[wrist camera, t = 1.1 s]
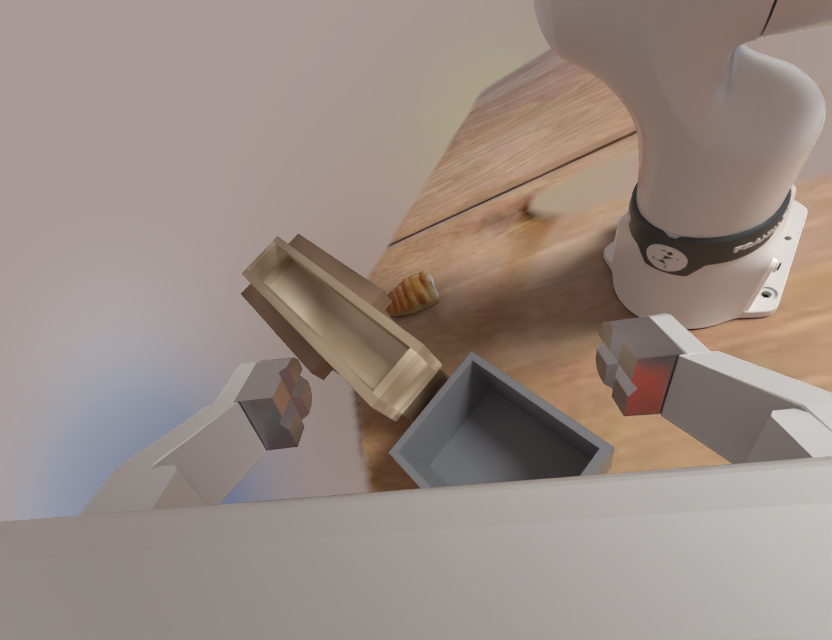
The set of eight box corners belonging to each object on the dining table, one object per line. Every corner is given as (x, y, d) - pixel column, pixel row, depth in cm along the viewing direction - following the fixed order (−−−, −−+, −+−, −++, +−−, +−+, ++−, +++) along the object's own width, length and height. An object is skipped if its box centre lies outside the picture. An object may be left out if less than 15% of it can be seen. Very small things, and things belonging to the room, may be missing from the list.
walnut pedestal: (407, 345, 56) (298, 233, 36) (475, 397, 48) (383, 291, 28) (372, 385, 55) (240, 293, 35) (436, 446, 47) (311, 372, 26)
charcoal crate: (492, 382, 48) (471, 351, 40) (611, 466, 38) (614, 447, 31) (424, 467, 46) (388, 452, 38) (531, 579, 37) (512, 589, 29)
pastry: (393, 328, 59) (382, 317, 56) (383, 299, 63) (373, 287, 60) (444, 302, 58) (435, 289, 55) (431, 273, 62) (422, 260, 59)
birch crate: (299, 257, 34) (277, 236, 32) (442, 365, 22) (424, 344, 20) (266, 292, 33) (241, 273, 31) (396, 421, 22) (371, 407, 20)
